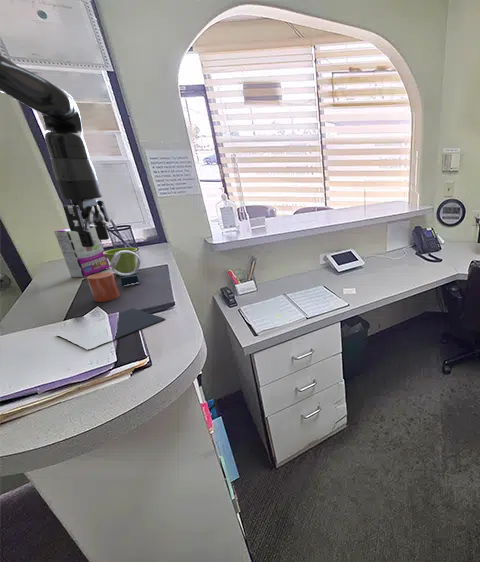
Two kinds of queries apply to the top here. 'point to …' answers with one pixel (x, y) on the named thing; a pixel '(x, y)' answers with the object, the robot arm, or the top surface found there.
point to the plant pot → (123, 259)
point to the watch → (130, 276)
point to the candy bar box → (82, 253)
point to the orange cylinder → (103, 286)
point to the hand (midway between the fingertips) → (96, 243)
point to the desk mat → (135, 321)
